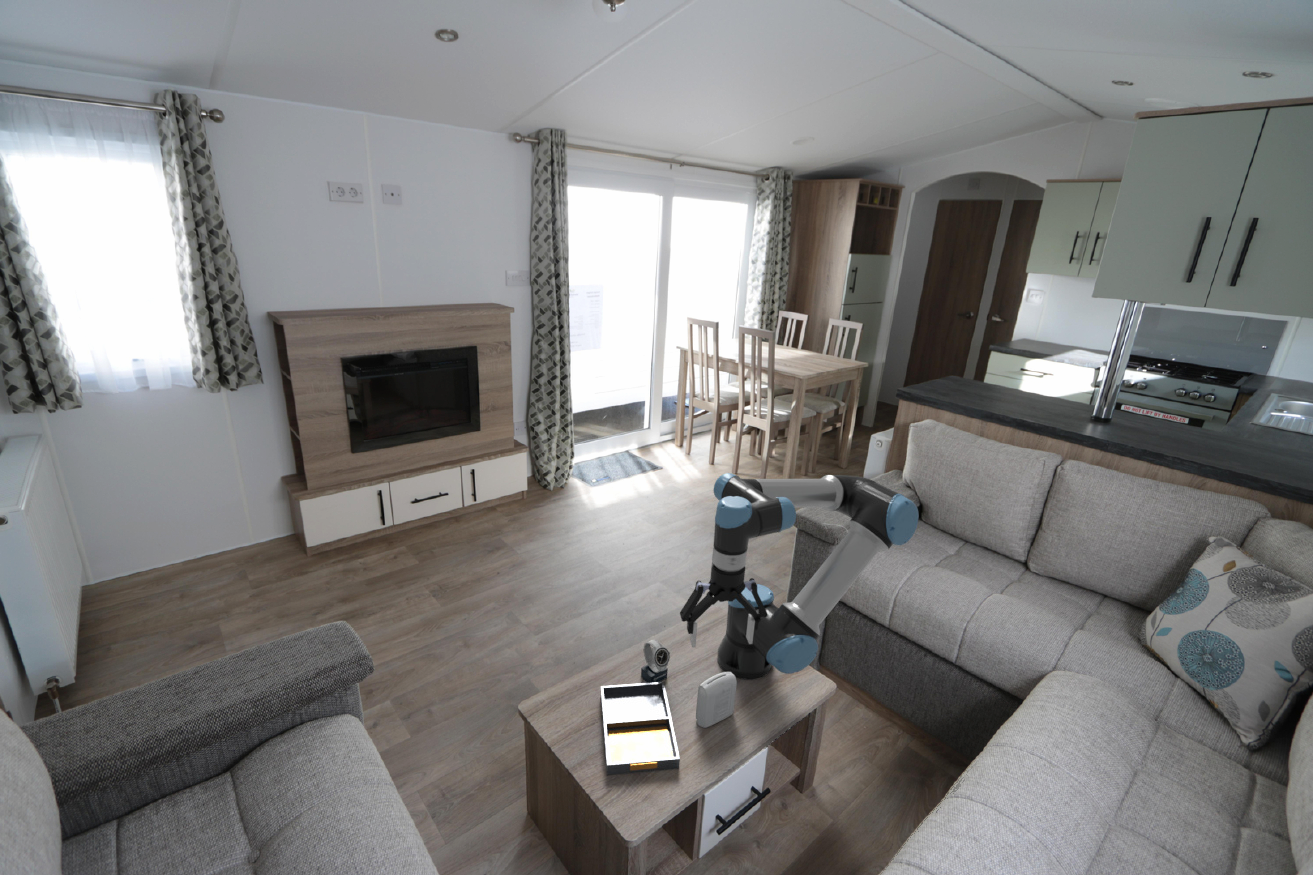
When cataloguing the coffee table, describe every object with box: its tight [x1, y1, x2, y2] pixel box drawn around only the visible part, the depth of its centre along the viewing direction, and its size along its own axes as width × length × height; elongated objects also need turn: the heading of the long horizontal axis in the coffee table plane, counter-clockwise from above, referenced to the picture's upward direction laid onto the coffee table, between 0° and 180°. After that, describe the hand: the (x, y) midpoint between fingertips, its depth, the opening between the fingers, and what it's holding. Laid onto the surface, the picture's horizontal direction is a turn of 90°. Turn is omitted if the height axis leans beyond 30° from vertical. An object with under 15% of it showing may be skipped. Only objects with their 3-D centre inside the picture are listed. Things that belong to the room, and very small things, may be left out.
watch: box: [640, 638, 671, 683], centre depth 162 cm, size 6×8×11 cm
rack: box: [600, 681, 681, 776], centre depth 146 cm, size 16×24×3 cm
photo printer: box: [695, 671, 737, 729], centre depth 149 cm, size 10×4×12 cm, turn 123°
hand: (721, 642), depth 144 cm, fingers open, 13 cm apart
